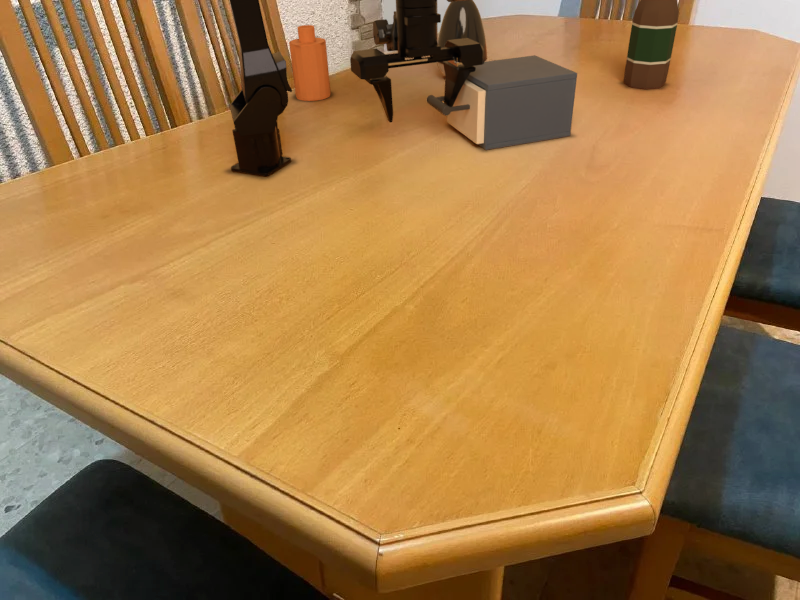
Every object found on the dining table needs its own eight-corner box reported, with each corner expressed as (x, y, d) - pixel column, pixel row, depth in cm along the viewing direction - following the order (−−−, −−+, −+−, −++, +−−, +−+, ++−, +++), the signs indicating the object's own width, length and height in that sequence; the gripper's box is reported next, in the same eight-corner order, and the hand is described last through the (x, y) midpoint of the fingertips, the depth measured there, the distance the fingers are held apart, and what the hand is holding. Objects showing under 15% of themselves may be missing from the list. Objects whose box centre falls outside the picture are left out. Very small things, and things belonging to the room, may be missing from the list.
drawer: (448, 149, 94) (449, 95, 90) (421, 126, 103) (420, 76, 99) (556, 131, 99) (561, 80, 95) (520, 111, 108) (523, 63, 104)
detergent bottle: (318, 102, 120) (311, 31, 113) (289, 99, 122) (280, 29, 115) (336, 92, 124) (330, 24, 118) (308, 89, 127) (300, 22, 120)
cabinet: (485, 150, 96) (488, 85, 90) (452, 125, 106) (452, 65, 100) (570, 136, 99) (577, 72, 94) (530, 113, 109) (535, 55, 104)
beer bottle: (623, 89, 119) (646, -58, 106) (621, 78, 126) (643, -62, 112) (667, 90, 118) (696, -59, 104) (663, 79, 124) (690, -63, 111)
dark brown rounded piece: (485, 70, 134) (488, -9, 126) (486, 83, 126) (489, -1, 117) (437, 71, 135) (437, -8, 127) (434, 84, 127) (434, 1, 118)
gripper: (455, -9, 96) (454, 95, 105) (336, 3, 92) (345, 111, 100) (488, 1, 88) (484, 114, 96) (357, 15, 83) (365, 132, 91)
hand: (418, 117), depth 96 cm, fingers open, 9 cm apart
